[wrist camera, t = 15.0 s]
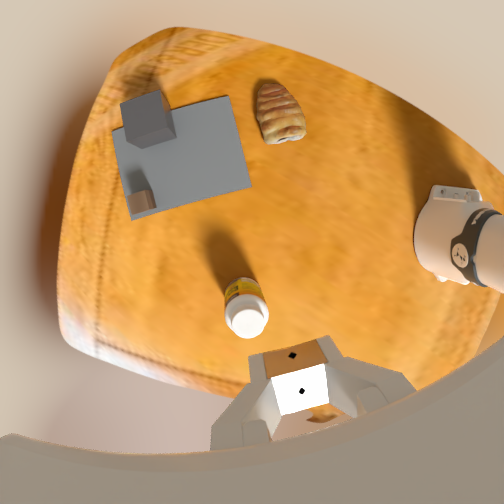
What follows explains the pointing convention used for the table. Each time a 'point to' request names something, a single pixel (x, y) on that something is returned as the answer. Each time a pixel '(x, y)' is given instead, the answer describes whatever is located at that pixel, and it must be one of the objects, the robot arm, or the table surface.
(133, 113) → the dark gray block
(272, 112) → the pastry
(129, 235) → the table surface
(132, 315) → the table surface
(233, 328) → the supplement bottle
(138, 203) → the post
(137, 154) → the mat
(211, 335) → the table surface
